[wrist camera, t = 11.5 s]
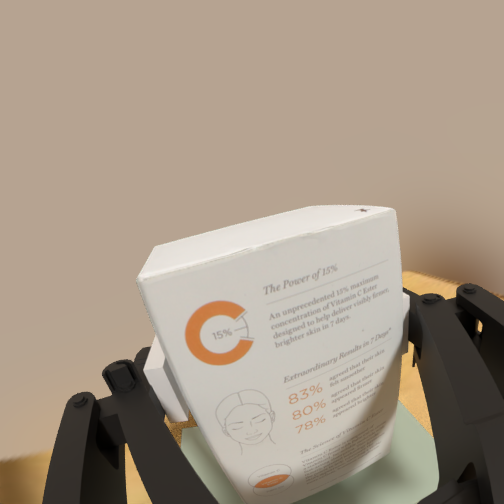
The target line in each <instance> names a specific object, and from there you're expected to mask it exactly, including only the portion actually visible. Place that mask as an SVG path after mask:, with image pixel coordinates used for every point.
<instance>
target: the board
mask: <svg viewBox="0 0 504 504" xmlns="http://www.w3.org/2000/svg"><path fill="white" fill-rule="evenodd" d="M181 450H182V452H183V453H184V455H185V456H186V458H187V459H188V461H189V462H190V464H191V465H192V467H193V468H194V470H195V471H196V473H197V474H198V475H199V477H200V478H201V480H202V481H203V482H204V484H205V485H206V487H207V488H208V489H209V491H210V492H211V493H212V494H213V496H214V497H215V498H216V500H217V501H218V502H219V503H220V504H244V502H243V501H242V499H241V498H240V496H239V495H238V493H237V492H236V490H235V489H234V487H233V486H232V484H231V483H230V481H229V480H228V478H227V477H226V475H225V473H224V472H223V470H222V468H221V467H220V465H219V463H218V462H217V460H216V458H215V456H214V455H213V453H212V451H211V449H210V447H209V445H208V444H207V442H206V440H205V438H204V437H203V435H202V433H201V431H200V429H199V427H198V426H197V427H190V428H183V429H182V436H181ZM438 482H439V470H438V462H437V455H436V448H435V442H434V439H433V438H432V436H431V435H430V434H429V433H428V432H427V431H426V430H425V429H424V427H423V426H422V425H421V424H420V423H419V422H418V421H417V420H416V419H415V418H414V416H413V415H412V414H411V413H410V412H409V411H408V410H407V409H406V408H405V406H404V405H403V404H402V403H401V402H400V401H399V400H398V405H397V412H396V419H395V425H394V432H393V437H392V443H391V448H390V452H389V453H388V454H387V455H385V456H384V457H382V458H381V459H379V460H378V461H376V462H374V463H373V464H371V465H369V466H368V467H366V468H364V469H363V470H361V471H359V472H357V473H355V474H354V475H352V476H350V477H348V478H346V479H344V480H342V481H340V482H338V483H336V484H334V485H332V486H330V487H328V488H326V489H324V490H322V491H319V492H317V493H315V494H313V495H310V496H308V497H305V498H303V499H301V500H298V501H296V502H293V503H290V504H417V503H418V502H419V501H420V500H421V499H423V498H425V497H426V496H428V495H430V494H431V493H433V492H434V491H436V490H437V487H438Z"/></svg>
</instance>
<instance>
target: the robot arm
mask: <svg viewBox="0 0 504 504" xmlns="http://www.w3.org/2000/svg"><path fill="white" fill-rule="evenodd" d="M479 321H480V322H481V323H482V325H483V326H482V331H481V332H479V331H478V324H479ZM409 341H410V342H411V343H413V344H414V353H413V364H412V367H415V363H417V367H418V370H419V374H420V378H421V382H422V386H423V390H424V394H425V398H426V402H427V407H428V411H429V416H430V421H431V426H432V431H433V436H434V442H435V448H436V455H437V462H438V470H439V482H438V487H437V490H436V491H434V492H433V493H431V494H430V495H428V496H426V497H425V498H423V499H421V500H420V501H419V502H418V503H417V504H504V301H503V300H501V299H500V298H498V297H496V296H495V295H493V294H491V293H490V292H488V291H487V290H485V289H483V288H482V287H480V286H478V285H474V284H471V283H469V284H464V285H461V286H459V287H458V288H457V290H456V297H455V298H451V299H447V300H445V299H444V297H442V296H441V295H438V294H433V293H430V294H424V295H421V296H419V295H417V294H416V293H414V292H412V291H410V290H407V289H406V288H404V287H403V342H402V355H403V354H405V353H407V352H408V342H409ZM102 376H103V378H104V380H105V381H106V383H107V385H108V387H109V389H110V390H111V392H112V395H111V396H109V397H105V398H102V399H99V400H96V398H95V396H94V395H93V394H92V393H90V392H81V393H77V394H76V395H74V396H72V398H70V399H69V401H68V402H67V404H66V407H65V410H64V414H63V417H62V420H61V423H60V427H59V430H58V434H57V437H56V441H55V445H54V449H53V453H52V457H51V461H50V465H49V470H48V475H47V480H46V485H45V490H44V496H43V502H42V504H127V495H126V477H125V443H127V444H128V447H129V450H130V452H131V455H132V458H133V460H134V463H135V465H136V468H137V470H138V473H139V475H140V477H141V480H142V482H143V484H144V487H145V489H146V491H147V493H148V495H149V497H150V499H151V502H152V504H220V503H219V502H218V501H217V500H216V498H215V497H214V496H213V494H212V493H211V492H210V491H209V489H208V488H207V487H206V485H205V484H204V482H203V481H202V480H201V478H200V477H199V475H198V474H197V473H196V471H195V470H194V468H193V467H192V465H191V464H190V462H189V461H188V459H187V458H186V456H185V455H184V453H183V452H182V450H181V449H180V447H179V445H178V444H177V442H176V440H175V439H174V437H173V436H172V434H171V432H170V430H169V429H168V427H167V425H166V424H165V422H164V418H165V414H166V416H167V418H168V419H169V421H170V423H174V422H182V421H188V417H189V408H188V406H187V404H186V402H185V400H184V398H183V396H182V394H181V391H180V389H179V387H178V385H177V383H176V381H175V378H174V376H173V374H172V372H171V369H170V367H169V365H168V362H167V360H166V358H165V355H164V353H163V350H162V348H161V345H160V343H159V341H158V338H157V336H155V339H154V341H153V344H152V346H151V347H145V348H142V349H141V350H140V351H139V352H138V353H137V355H136V358H135V361H134V362H132V361H131V360H127V359H126V360H119V361H116V362H113V363H111V364H110V365H108V366H107V367H106V368H105V369H104V370H103V372H102Z"/></svg>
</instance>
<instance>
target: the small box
mask: <svg viewBox="0 0 504 504" xmlns="http://www.w3.org/2000/svg"><path fill="white" fill-rule="evenodd" d="M136 283H137V286H138V289H139V291H140V294H141V297H142V299H143V302H144V305H145V307H146V310H147V313H148V315H149V318H150V320H151V323H152V326H153V328H154V331H155V333H156V336H157V338H158V341H159V343H160V345H161V348H162V350H163V353H164V355H165V358H166V360H167V362H168V365H169V367H170V369H171V372H172V374H173V376H174V378H175V381H176V383H177V385H178V387H179V389H180V391H181V394H182V396H183V398H184V400H185V402H186V404H187V406H188V408H189V410H190V412H191V414H192V416H193V418H194V420H195V422H196V424H197V425H198V427H199V429H200V431H201V433H202V435H203V437H204V438H205V440H206V442H207V444H208V445H209V447H210V449H211V451H212V453H213V455H214V456H215V458H216V460H217V462H218V463H219V465H220V467H221V468H222V470H223V472H224V473H225V475H226V477H227V478H228V480H229V481H230V483H231V484H232V486H233V487H234V489H235V490H236V492H237V493H238V495H239V496H240V498H241V499H242V501H243V502H244V504H290V503H293V502H296V501H298V500H301V499H303V498H305V497H308V496H310V495H313V494H315V493H317V492H319V491H322V490H324V489H326V488H328V487H330V486H332V485H334V484H336V483H338V482H340V481H342V480H344V479H346V478H348V477H350V476H352V475H354V474H355V473H357V472H359V471H361V470H363V469H364V468H366V467H368V466H369V465H371V464H373V463H374V462H376V461H378V460H379V459H381V458H382V457H384V456H385V455H387V454H388V453H389V452H390V448H391V443H392V437H393V432H394V425H395V419H396V412H397V405H398V396H399V387H400V376H401V362H402V342H403V288H402V267H401V254H400V245H399V236H398V224H397V215H396V210H395V209H392V208H387V207H379V206H362V205H322V206H309V207H305V208H300V209H296V210H292V211H288V212H284V213H280V214H276V215H272V216H268V217H264V218H260V219H256V220H252V221H248V222H244V223H240V224H236V225H232V226H228V227H225V228H221V229H217V230H214V231H210V232H206V233H202V234H199V235H195V236H191V237H188V238H184V239H180V240H176V241H173V242H169V243H166V244H162V245H159V246H155V247H154V249H153V250H152V252H151V254H150V256H149V258H148V259H147V261H146V263H145V265H144V267H143V269H142V270H141V272H140V274H139V275H138V277H137V279H136Z"/></svg>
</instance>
